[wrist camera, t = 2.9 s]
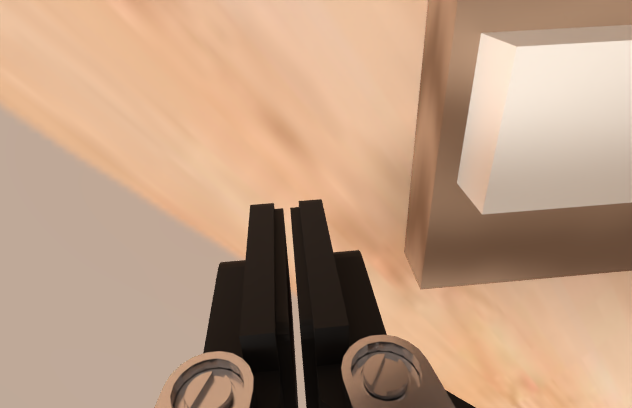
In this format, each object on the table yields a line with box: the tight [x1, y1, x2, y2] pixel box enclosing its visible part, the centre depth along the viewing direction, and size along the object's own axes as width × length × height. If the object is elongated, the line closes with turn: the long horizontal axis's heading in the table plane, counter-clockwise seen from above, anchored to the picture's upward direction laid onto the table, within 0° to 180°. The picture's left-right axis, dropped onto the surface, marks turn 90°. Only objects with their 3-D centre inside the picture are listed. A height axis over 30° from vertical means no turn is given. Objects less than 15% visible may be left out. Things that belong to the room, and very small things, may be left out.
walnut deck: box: [404, 0, 632, 289], centre depth 18 cm, size 18×14×3 cm
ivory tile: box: [457, 25, 632, 214], centre depth 15 cm, size 6×9×2 cm, turn 92°
